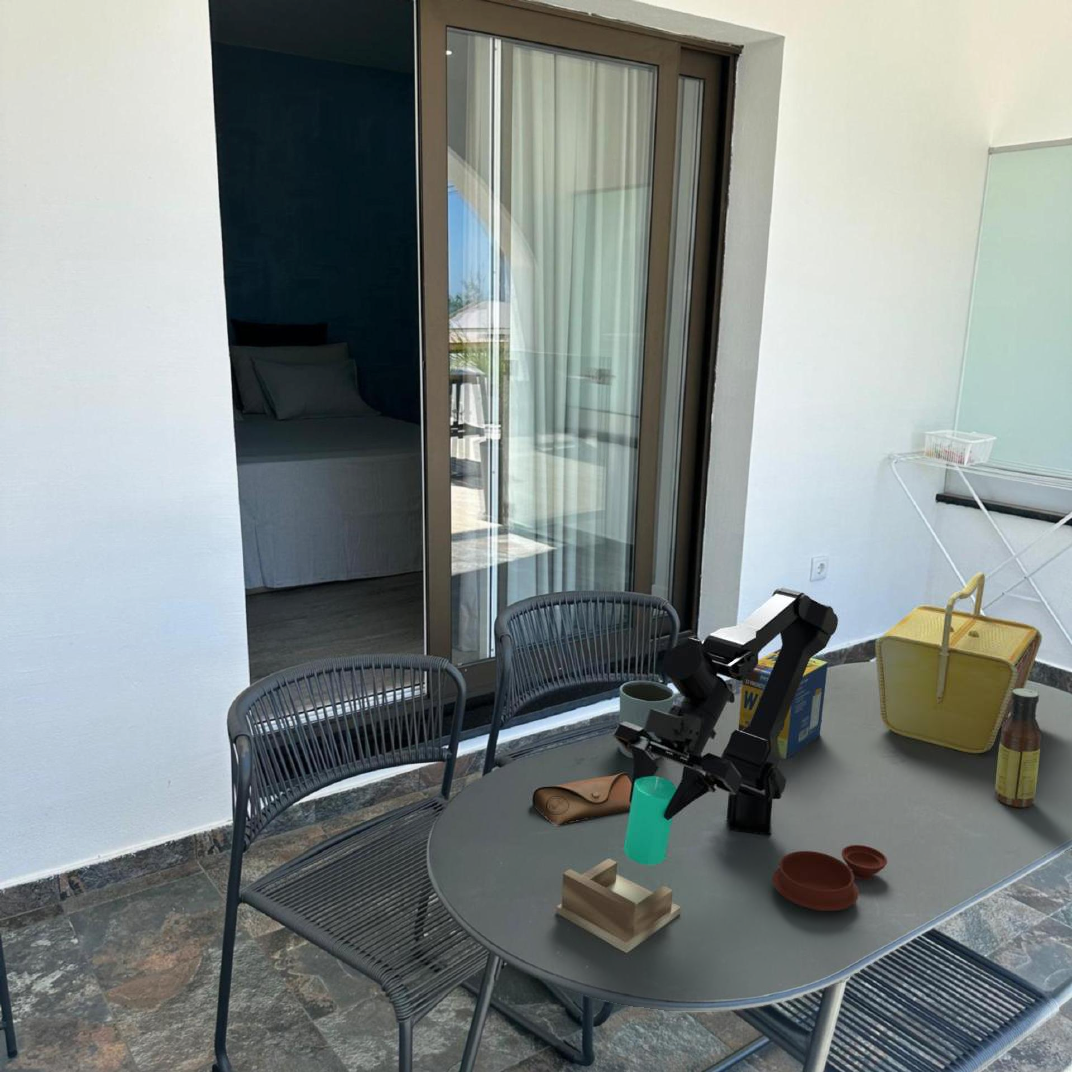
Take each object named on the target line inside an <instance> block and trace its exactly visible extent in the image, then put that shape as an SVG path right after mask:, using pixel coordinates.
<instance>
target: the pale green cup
mask: <svg viewBox="0 0 1072 1072" xmlns="http://www.w3.org/2000/svg"><path fill="white" fill-rule="evenodd" d="M674 699H675V691H674V690H673V689H672V688H671V687H669V686H667V685H665V684H663V683H659V682H656V681H650V680H633V681H631V680H630V681H628V682H624V683H623V684H621V686H619V717H618V718H619V720H618V723H619V724H621V723H623V722H625V721H626V722H628V723H631V724H634V725H636V726H639V727H642V728H644V727H645V723H646V720H647V717H648V714H649V710H650V708H651V709H655V710H659V711H662V712H666V713H669V711H670V709H671V708H672V707H673V706H674V701H675V700H674ZM648 734H649V735H650V736H651V737H652V738H653V739H654V740H656V741H658V742H661V740H660V739H659V738H657V737H656V736H655V735H654V732H648ZM618 743H619V742H618ZM618 746H619V751H620V753H622V754H623V755H624V756H626V757H628V758H631V759H633V755H632V753H630V752H628V751H627V750H626V749H625V748H624V747H623V746H622V745H621V744H620V743H619V744H618ZM659 758H661V757H660V756H657V755H656V756H655V758H654V760H657V759H659Z"/></svg>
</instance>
